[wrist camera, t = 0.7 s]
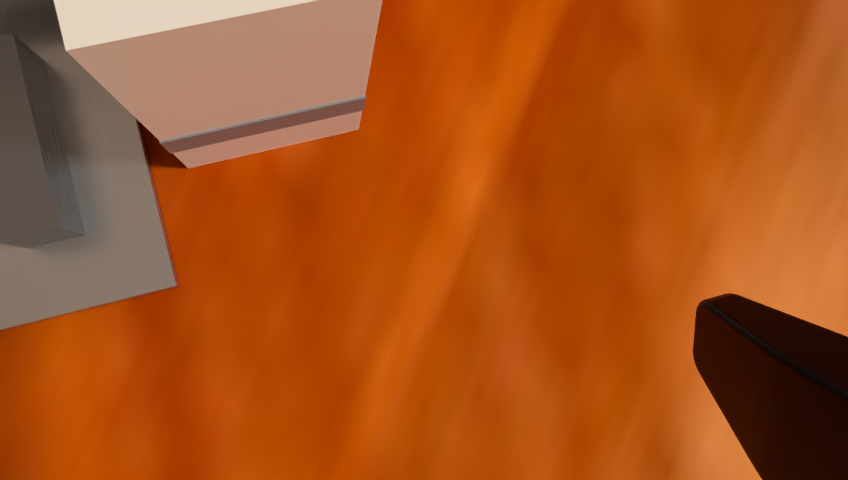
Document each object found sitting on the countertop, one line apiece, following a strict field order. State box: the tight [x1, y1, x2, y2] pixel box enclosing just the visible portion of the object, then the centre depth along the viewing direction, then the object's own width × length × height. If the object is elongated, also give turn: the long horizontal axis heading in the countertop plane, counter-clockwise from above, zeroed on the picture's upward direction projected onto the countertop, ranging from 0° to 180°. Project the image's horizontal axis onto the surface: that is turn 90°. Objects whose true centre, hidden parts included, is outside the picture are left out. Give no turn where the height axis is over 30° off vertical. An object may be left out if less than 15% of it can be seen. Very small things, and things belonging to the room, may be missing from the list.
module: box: [54, 0, 382, 168], centre depth 17 cm, size 5×5×10 cm
